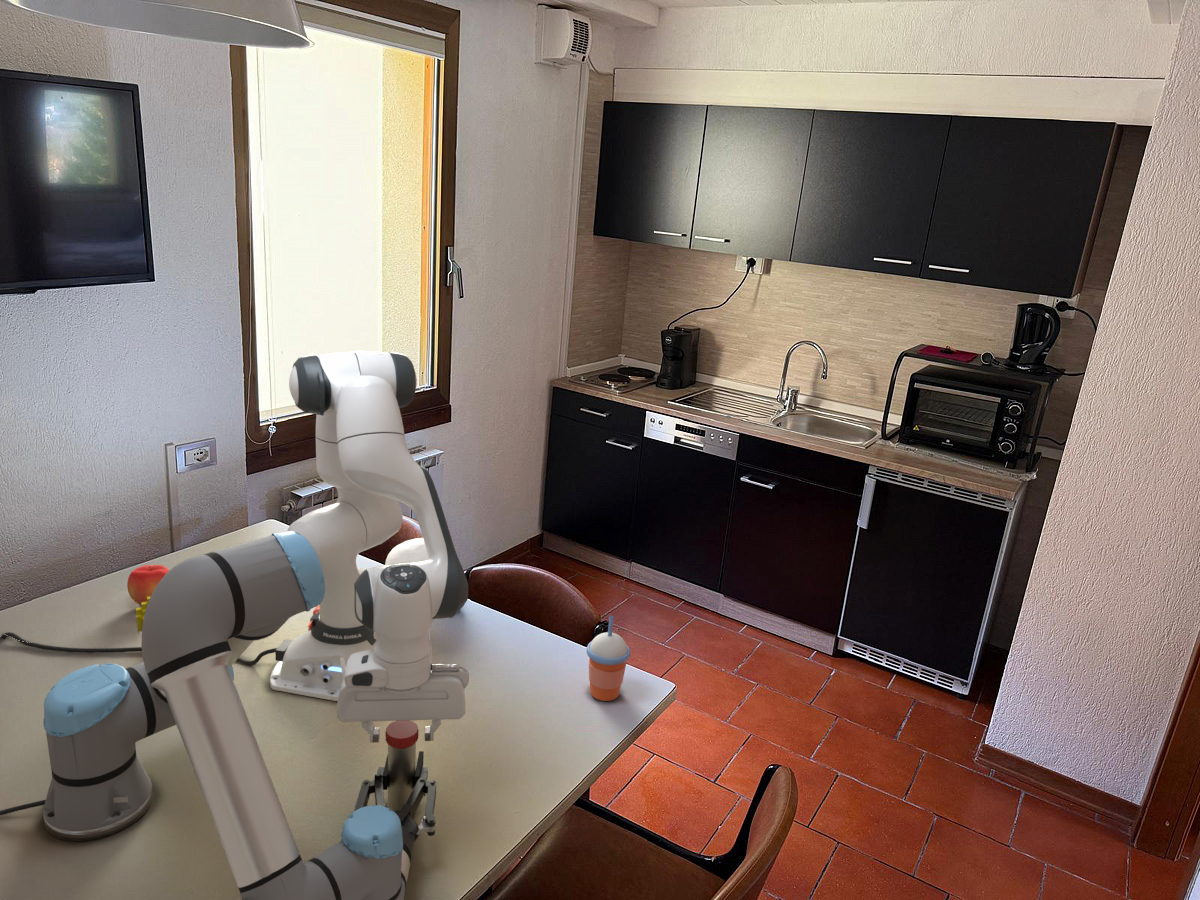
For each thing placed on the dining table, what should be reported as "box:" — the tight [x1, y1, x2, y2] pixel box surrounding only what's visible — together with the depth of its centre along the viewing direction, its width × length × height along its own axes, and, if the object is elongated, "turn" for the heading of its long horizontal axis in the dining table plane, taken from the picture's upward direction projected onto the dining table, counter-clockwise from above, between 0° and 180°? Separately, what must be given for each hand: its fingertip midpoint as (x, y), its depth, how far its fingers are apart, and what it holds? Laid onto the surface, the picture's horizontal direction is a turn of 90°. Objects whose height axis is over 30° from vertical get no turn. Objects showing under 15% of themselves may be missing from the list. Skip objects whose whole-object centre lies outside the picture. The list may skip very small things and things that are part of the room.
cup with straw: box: [586, 615, 631, 702], centre depth 178 cm, size 9×9×18 cm
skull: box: [384, 537, 429, 566], centre depth 211 cm, size 13×22×16 cm, turn 67°
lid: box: [385, 720, 420, 748], centre depth 139 cm, size 5×5×2 cm
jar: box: [387, 742, 417, 811], centre depth 141 cm, size 4×4×15 cm
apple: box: [126, 564, 170, 607], centre depth 199 cm, size 10×10×10 cm
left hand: (405, 757), depth 146 cm, fingers closed on jar, 4 cm apart
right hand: (402, 739), depth 139 cm, fingers open, 7 cm apart
